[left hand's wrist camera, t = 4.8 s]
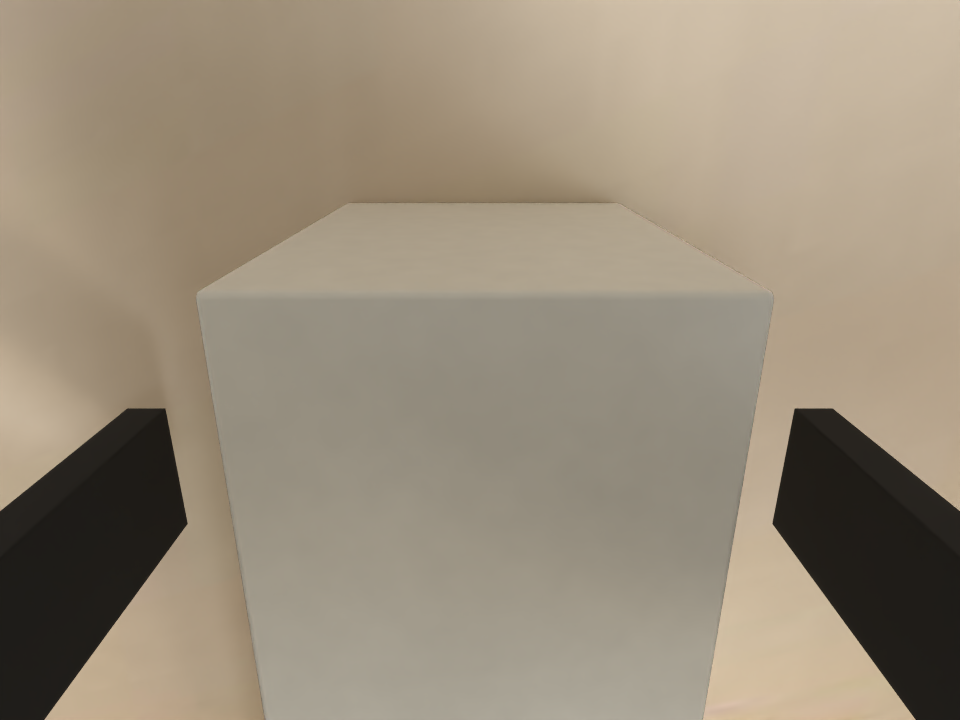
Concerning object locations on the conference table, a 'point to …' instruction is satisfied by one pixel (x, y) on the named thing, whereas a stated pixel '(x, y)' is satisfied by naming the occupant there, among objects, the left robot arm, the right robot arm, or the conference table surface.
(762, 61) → the conference table surface
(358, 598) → the plank
